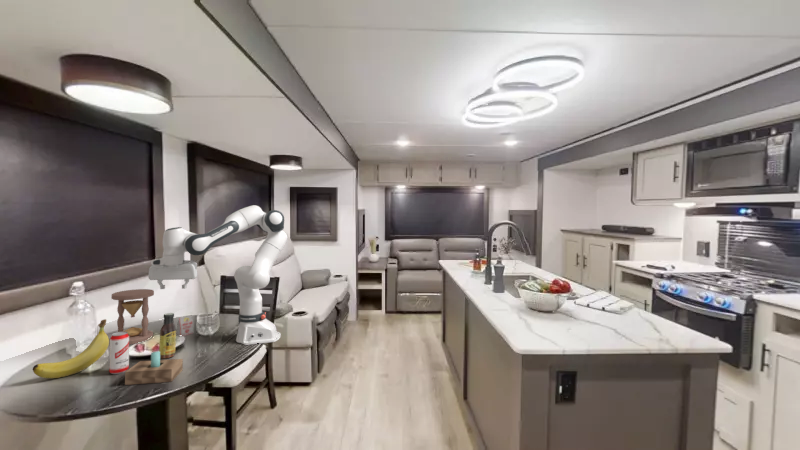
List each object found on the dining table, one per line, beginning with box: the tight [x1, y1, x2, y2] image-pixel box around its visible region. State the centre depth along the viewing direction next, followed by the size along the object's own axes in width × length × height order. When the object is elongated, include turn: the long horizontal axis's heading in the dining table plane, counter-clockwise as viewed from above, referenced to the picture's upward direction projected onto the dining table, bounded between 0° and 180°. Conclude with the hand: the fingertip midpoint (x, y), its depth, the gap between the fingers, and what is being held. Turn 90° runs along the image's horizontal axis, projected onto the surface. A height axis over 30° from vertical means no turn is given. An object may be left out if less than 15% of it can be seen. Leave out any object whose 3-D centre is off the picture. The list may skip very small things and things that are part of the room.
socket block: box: [124, 358, 184, 386], centre depth 134 cm, size 16×10×5 cm, turn 102°
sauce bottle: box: [158, 312, 177, 360], centre depth 155 cm, size 7×6×20 cm
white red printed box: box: [176, 314, 194, 337], centre depth 185 cm, size 4×7×10 cm, turn 148°
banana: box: [32, 318, 110, 379], centre depth 136 cm, size 23×6×20 cm, turn 147°
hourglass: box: [111, 288, 155, 346], centre depth 176 cm, size 18×18×25 cm
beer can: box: [108, 331, 130, 375], centre depth 139 cm, size 6×6×16 cm
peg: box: [150, 350, 161, 368], centre depth 134 cm, size 3×3×10 cm
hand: (173, 288), depth 163 cm, fingers open, 8 cm apart
